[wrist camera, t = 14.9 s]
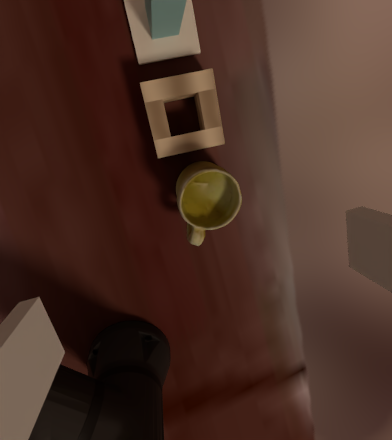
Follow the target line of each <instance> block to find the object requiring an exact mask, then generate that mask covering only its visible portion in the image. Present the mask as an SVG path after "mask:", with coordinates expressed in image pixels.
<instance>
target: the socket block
mask: <svg viewBox="0 0 392 440" xmlns="http://www.w3.org/2000/svg"><path fill="white" fill-rule="evenodd" d="M140 86H141V90H142V94H143V98H144V103H145V107H146V111H147V115H148V119H149V123H150V127H151V131H152V136H153V140H154V144H155V148H156V152H157V156H158V158H162V157H167V156H171V155H176V154H180V153H185V152H190V151H194V150H199V149H203V148H208V147H212V146H217V145H221V144H225V142H224V136H223V129H222V123H221V117H220V111H219V105H218V99H217V93H216V87H215V81H214V74H213V68H212V69H207V70H202V71H197V72H192V73H187V74H182V75H176V76H171V77H166V78H161V79H156V80H151V81H146V82H141V83H140ZM190 97H194V98H195V104H196V109H197V114H198V120H199V125H200V130H201V131H196V132H192V133H187V134H182V135H178V136H173V137H171V134H170V130H169V125H168V121H167V116H166V112H165V107H164V103H165V102H170V101H175V100H180V99H185V98H190Z"/></svg>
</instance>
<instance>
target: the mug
mask: <svg viewBox="0 0 392 440" xmlns="http://www.w3.org/2000/svg"><path fill="white" fill-rule="evenodd" d="M176 195H177V205H178V209H179V211H180V213H181V215H182V217H183V218H184V220H185V221H186V222H188V223H187V239H188V241H189V242H190V243H191V244H193V245H197V246H199V245H201V243H202V242H203V240H204V237H205V230H214V229H218V228H221V227H223V226H225V225H227V224H228V223H230V222H231V221H232V220H233V219H234V217H235V216H236V215H237V213H238V212H239V209H240V207H241V203H242V195H241V191H240V188H239V185H238V183H237V181H236V180H235V178H234V177H233V176H232V175H231V174H230V173H228V172H227V171H226V170H225V169H223V168H222V167H219V166H217V165H216V164H213V163H211V162H206V161H198V162H195V163H192V164H190V165H188V166H187V167H186V168H185V169H184V170H183V171H182V172H181V174H180V175H179V177H178V180H177V183H176Z"/></svg>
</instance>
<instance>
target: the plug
mask: <svg viewBox="0 0 392 440" xmlns="http://www.w3.org/2000/svg"><path fill="white" fill-rule="evenodd" d="M186 1H187V0H145V9H146V13H147V18H148V23H149V27H150V32H151V36H152V40H153V39H158V38H164V37H169V36H175V35H179V32H180V27H181V23H182V19H183V14H184V10H185V5H186Z"/></svg>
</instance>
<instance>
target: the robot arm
mask: <svg viewBox="0 0 392 440" xmlns="http://www.w3.org/2000/svg"><path fill="white" fill-rule="evenodd" d="M346 221H347V222H346V223H347V239H348V253H349V254H348V255H349V267H350V268H352V269H354V270H355V271H357V272H359V273H360V274H362V275H364V276H365V277H367V278H369V279H370V280H372V281H374V282H375V283H377V284H379V285H380V286H382V287H383V288H385V289H387V290H388V291H390V292H392V215H390V214H386V213H382V212H379V211H376V210H372V209H368V208H365V207H358V208H355V209H351V210H347V211H346ZM64 353H65V351H64V349H63V347H62V345H61V342H60V340H59V338H58V336H57V334H56V332H55V330H54V327H53V325H52V323H51V321H50V319H49V317H48V315H47V312H46V310H45V308H44V306H43V304H42V302H41V300H40V297H36V298H33V299H29V300H26V301H22V302H19V303H18V304H17V305H16V307H15V308H14V309H13V310H12V311H11V312H10V314H9V315H8V316H7V317H6V318H5V319H4V321H3V322H2V323H1V324H0V440H164V428H163V400H162V387H163V384H164V381H165V378H166V375H167V372H168V369H169V366H170V346H169V342H168V340H167V338H166V336H165V335H164V334H163V333H162V332H161V331H160V330H159V329H158V328H156V327H155V326H153V325H151V324H148V323H145V322H140V321H125V322H120V323H117V324H114V325H112V326H110V327H108V328H106V329H105V330H103V331H102V332H101V333H100V334H99V335H98V336H97V337H96V338H95V340H94V342H93V343H92V346H91V349H90V352H89V355H88V361H87V369H88V376H87V375H85V374H82V373H80V372H77V371H75V370H73V369H70V368H68V367H65V366H63V365H61V364H60V363H61V361H62V358H63V356H64Z"/></svg>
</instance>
